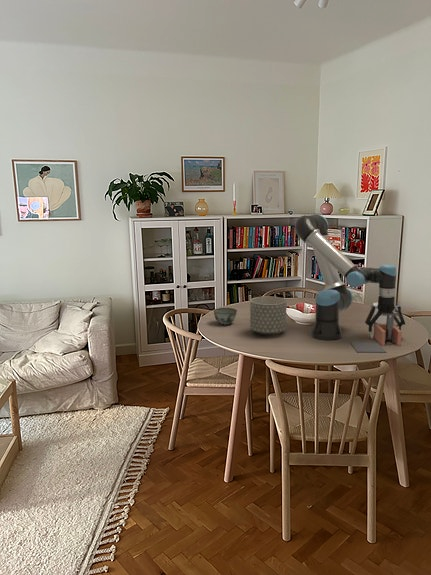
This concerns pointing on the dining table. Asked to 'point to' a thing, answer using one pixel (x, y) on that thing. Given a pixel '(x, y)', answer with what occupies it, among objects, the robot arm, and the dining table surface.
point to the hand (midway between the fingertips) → (384, 337)
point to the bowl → (225, 315)
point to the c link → (381, 334)
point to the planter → (268, 315)
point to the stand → (389, 327)
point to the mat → (367, 347)
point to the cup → (380, 317)
